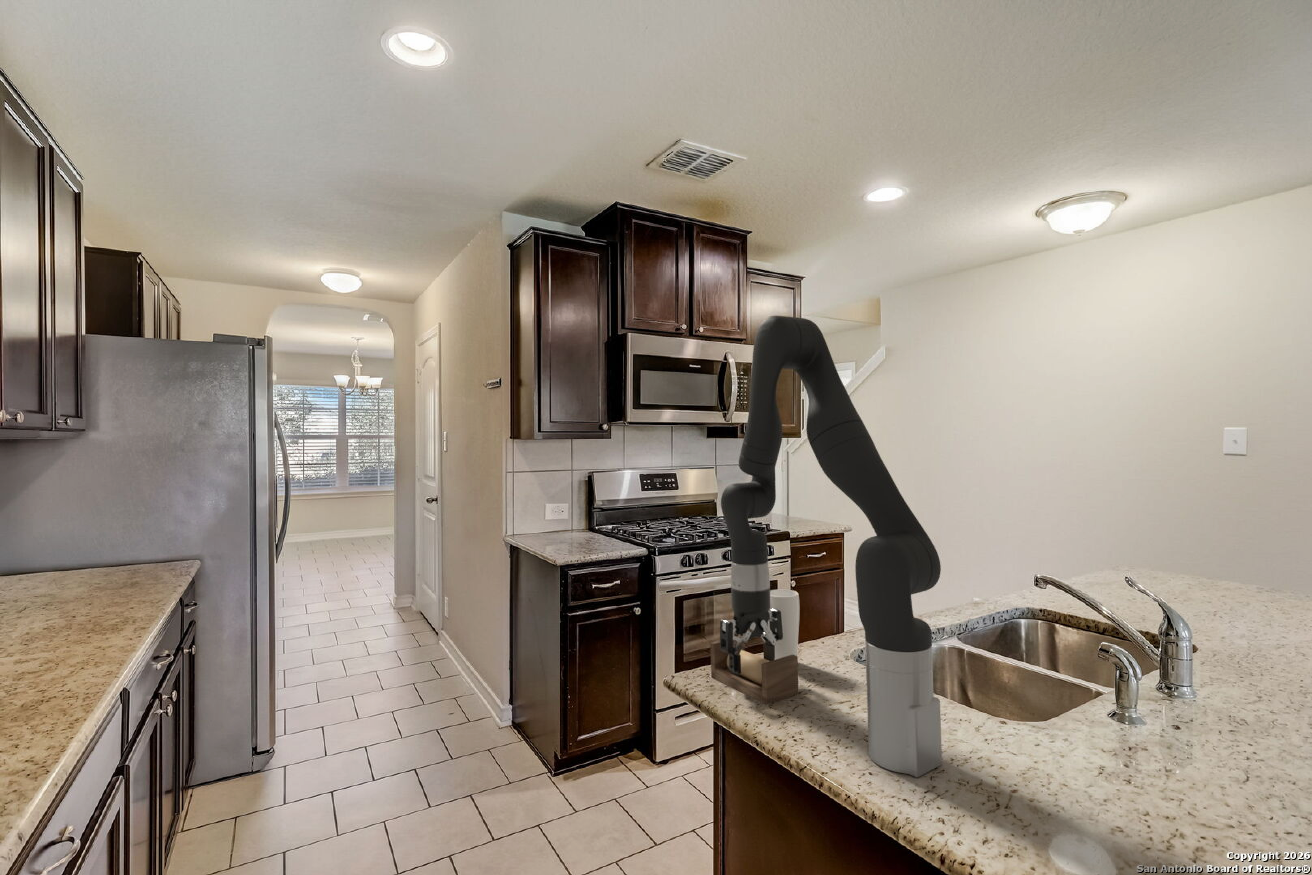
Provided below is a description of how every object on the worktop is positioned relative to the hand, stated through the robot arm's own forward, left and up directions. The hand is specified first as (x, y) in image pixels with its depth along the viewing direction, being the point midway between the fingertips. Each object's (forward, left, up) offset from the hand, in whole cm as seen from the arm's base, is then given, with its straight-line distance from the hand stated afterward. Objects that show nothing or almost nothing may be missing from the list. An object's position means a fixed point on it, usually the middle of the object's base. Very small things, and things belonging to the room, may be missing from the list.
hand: (752, 667), depth 119 cm
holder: (0, 0, -3) cm, 3 cm away
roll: (0, 0, -2) cm, 2 cm away
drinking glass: (+4, -13, -4) cm, 14 cm away
